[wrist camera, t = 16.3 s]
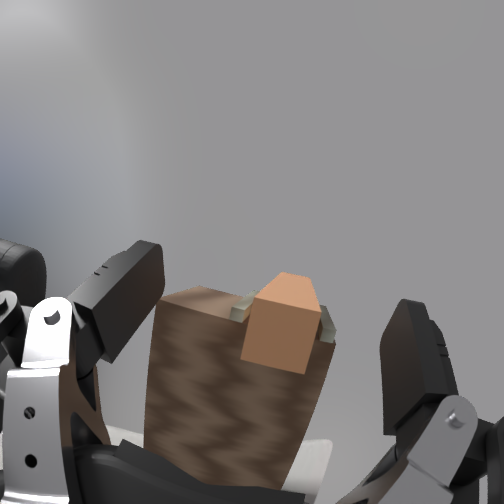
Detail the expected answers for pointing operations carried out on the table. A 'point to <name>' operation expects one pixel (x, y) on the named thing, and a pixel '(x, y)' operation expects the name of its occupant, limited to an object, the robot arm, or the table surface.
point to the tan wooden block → (283, 324)
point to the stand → (226, 392)
